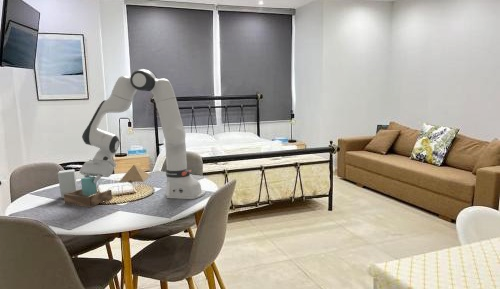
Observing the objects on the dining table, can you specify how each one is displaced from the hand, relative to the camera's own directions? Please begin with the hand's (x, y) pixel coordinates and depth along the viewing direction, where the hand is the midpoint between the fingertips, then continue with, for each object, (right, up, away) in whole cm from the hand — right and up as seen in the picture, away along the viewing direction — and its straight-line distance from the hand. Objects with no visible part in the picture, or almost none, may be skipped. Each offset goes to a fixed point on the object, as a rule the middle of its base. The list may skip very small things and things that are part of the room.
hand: (89, 182), depth 191 cm
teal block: (0, -6, +1) cm, 6 cm away
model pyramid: (+9, -3, +48) cm, 49 cm away
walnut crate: (-1, -10, 0) cm, 10 cm away
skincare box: (-16, -9, +10) cm, 21 cm away
